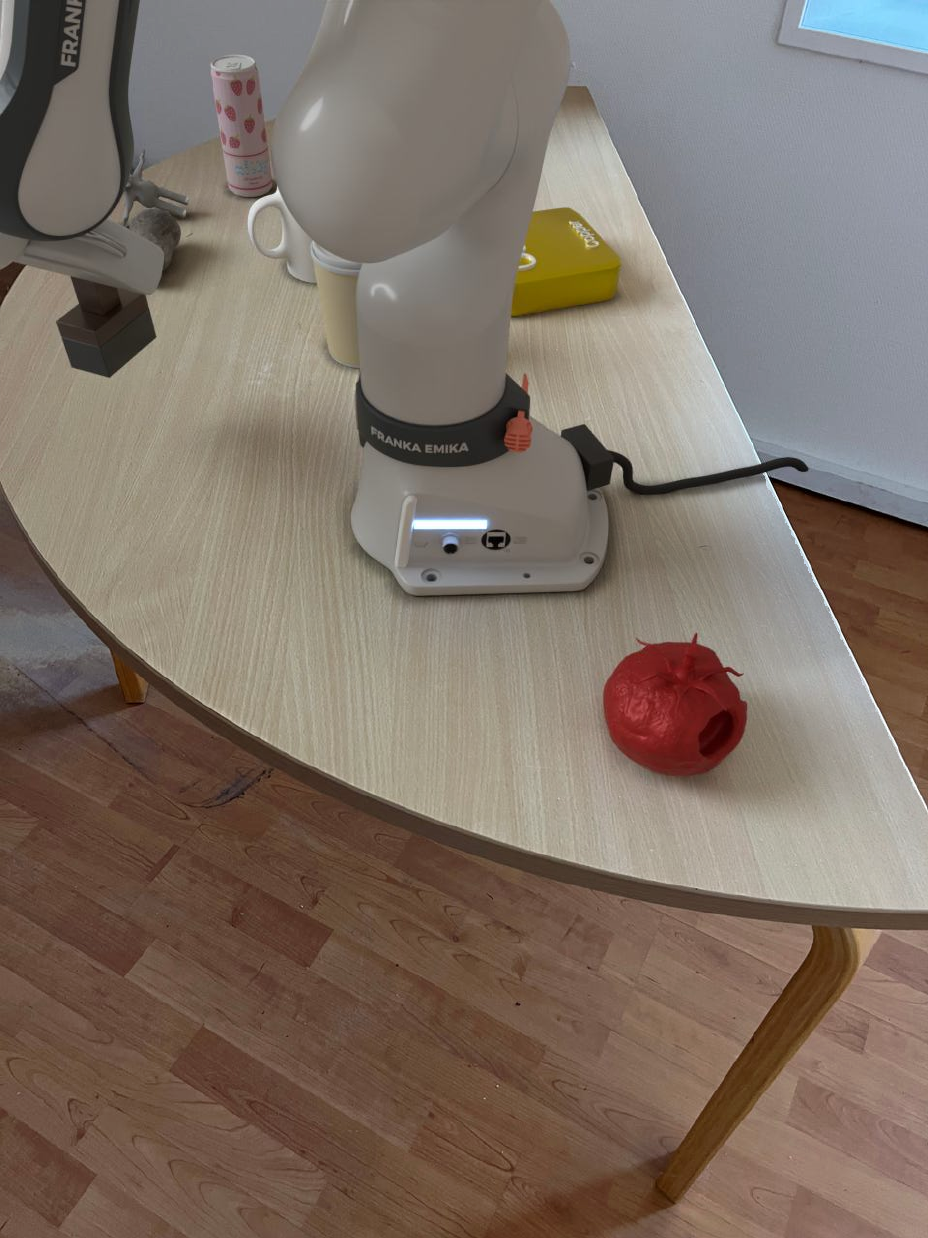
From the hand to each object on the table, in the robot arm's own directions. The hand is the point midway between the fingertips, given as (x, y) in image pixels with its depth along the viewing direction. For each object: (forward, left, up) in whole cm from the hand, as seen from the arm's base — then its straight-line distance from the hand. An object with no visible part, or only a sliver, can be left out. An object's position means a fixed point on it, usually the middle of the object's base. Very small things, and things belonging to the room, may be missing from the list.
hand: (95, 270), depth 77 cm
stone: (+8, -29, -16) cm, 34 cm away
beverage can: (+3, -50, -16) cm, 53 cm away
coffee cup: (-19, -16, -16) cm, 30 cm away
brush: (0, +1, -7) cm, 7 cm away
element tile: (-36, -34, -16) cm, 52 cm away
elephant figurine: (+13, -41, -16) cm, 46 cm away
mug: (-9, -31, -16) cm, 36 cm away
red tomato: (-50, +29, -16) cm, 59 cm away
